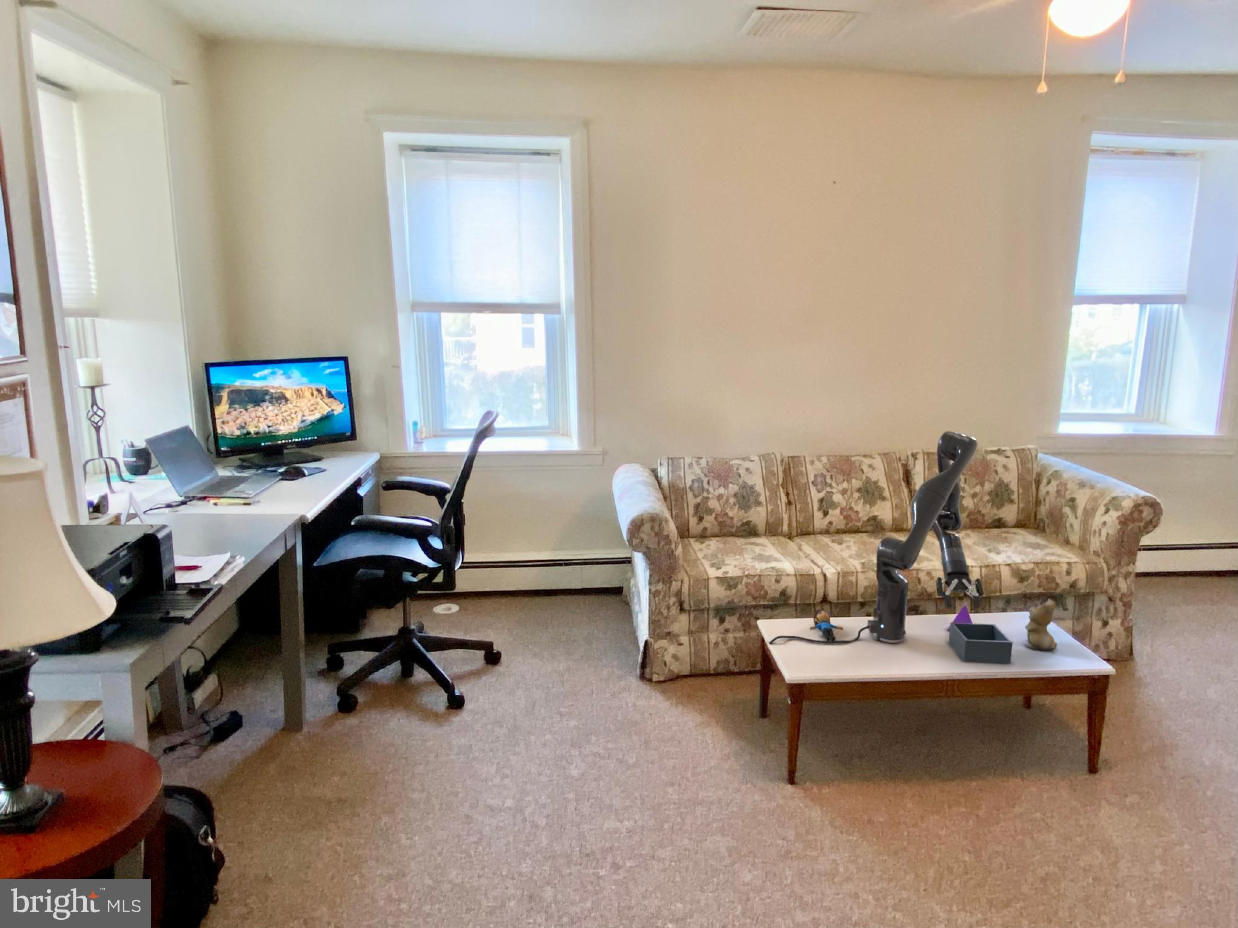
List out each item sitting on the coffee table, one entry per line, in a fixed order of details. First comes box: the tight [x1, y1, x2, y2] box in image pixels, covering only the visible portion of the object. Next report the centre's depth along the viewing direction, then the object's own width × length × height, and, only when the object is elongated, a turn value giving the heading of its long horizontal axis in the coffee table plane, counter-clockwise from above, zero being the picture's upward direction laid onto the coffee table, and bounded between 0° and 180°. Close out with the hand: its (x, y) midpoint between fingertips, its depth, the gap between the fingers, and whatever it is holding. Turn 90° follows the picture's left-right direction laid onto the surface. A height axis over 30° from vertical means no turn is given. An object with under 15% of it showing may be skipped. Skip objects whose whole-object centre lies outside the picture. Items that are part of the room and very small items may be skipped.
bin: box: [948, 622, 1013, 664], centre depth 233 cm, size 14×14×7 cm
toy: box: [809, 609, 844, 641], centre depth 248 cm, size 11×6×15 cm
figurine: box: [1024, 598, 1058, 651], centre depth 238 cm, size 10×8×15 cm
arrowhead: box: [946, 604, 973, 631], centre depth 247 cm, size 10×2×10 cm
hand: (963, 608), depth 247 cm, fingers open, 8 cm apart
